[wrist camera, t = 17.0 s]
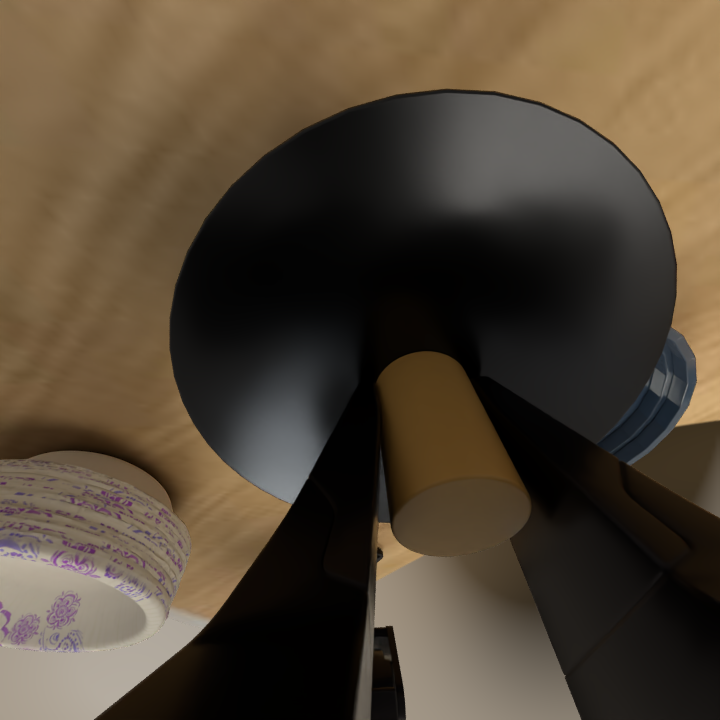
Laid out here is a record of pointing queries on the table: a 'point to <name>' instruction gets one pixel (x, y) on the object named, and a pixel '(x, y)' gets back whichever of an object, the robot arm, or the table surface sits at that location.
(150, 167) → the table surface
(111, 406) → the table surface
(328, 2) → the table surface
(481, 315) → the tin lid
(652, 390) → the blue-grey round rimmed part
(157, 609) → the paper bowls
